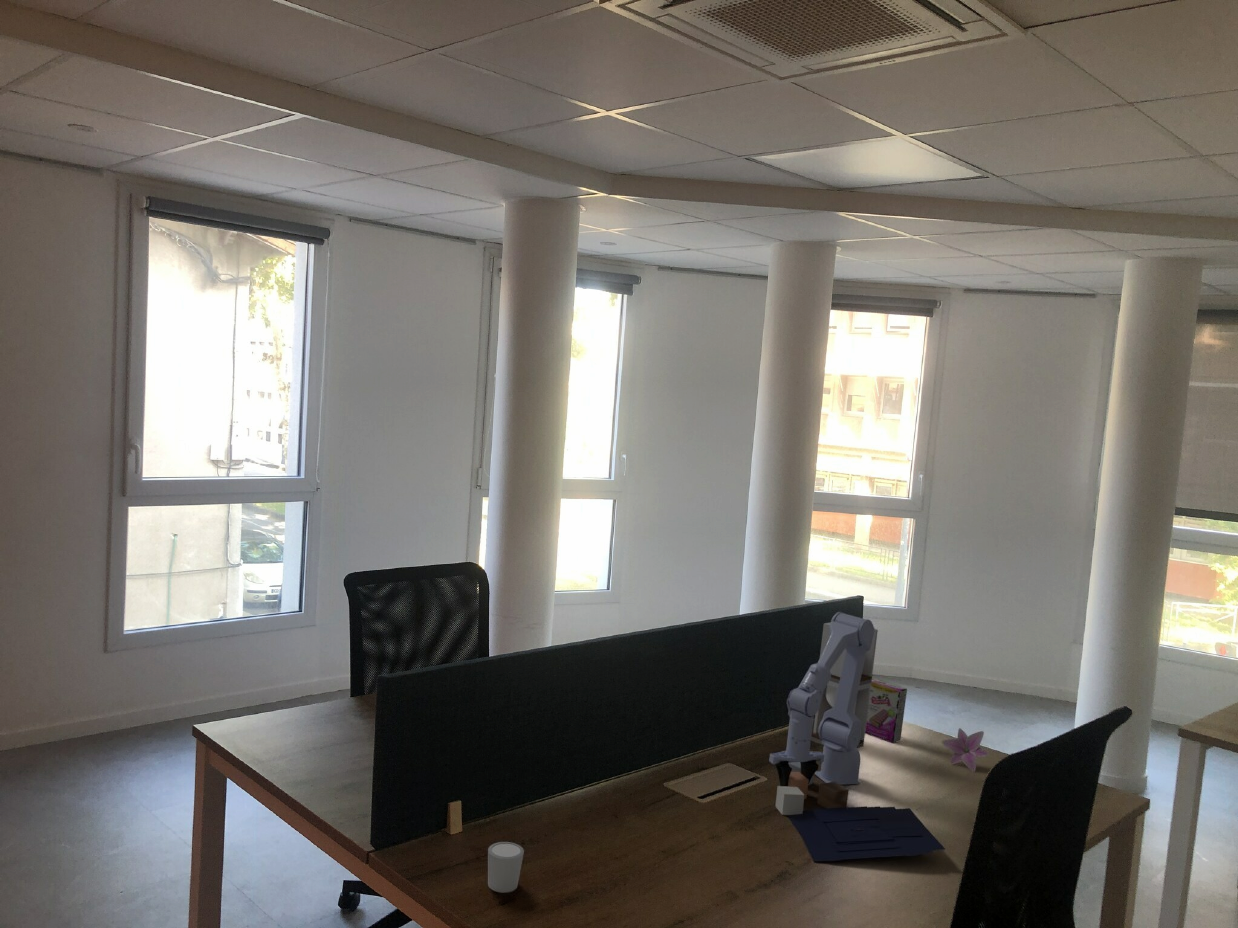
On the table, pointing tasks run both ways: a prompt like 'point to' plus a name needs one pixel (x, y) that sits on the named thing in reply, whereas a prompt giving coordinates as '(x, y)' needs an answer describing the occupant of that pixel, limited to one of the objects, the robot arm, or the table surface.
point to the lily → (966, 748)
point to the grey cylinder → (504, 866)
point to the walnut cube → (832, 795)
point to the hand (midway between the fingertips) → (793, 789)
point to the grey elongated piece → (833, 684)
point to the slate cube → (798, 769)
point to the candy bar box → (886, 710)
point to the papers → (863, 833)
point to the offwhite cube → (789, 800)
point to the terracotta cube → (798, 782)
